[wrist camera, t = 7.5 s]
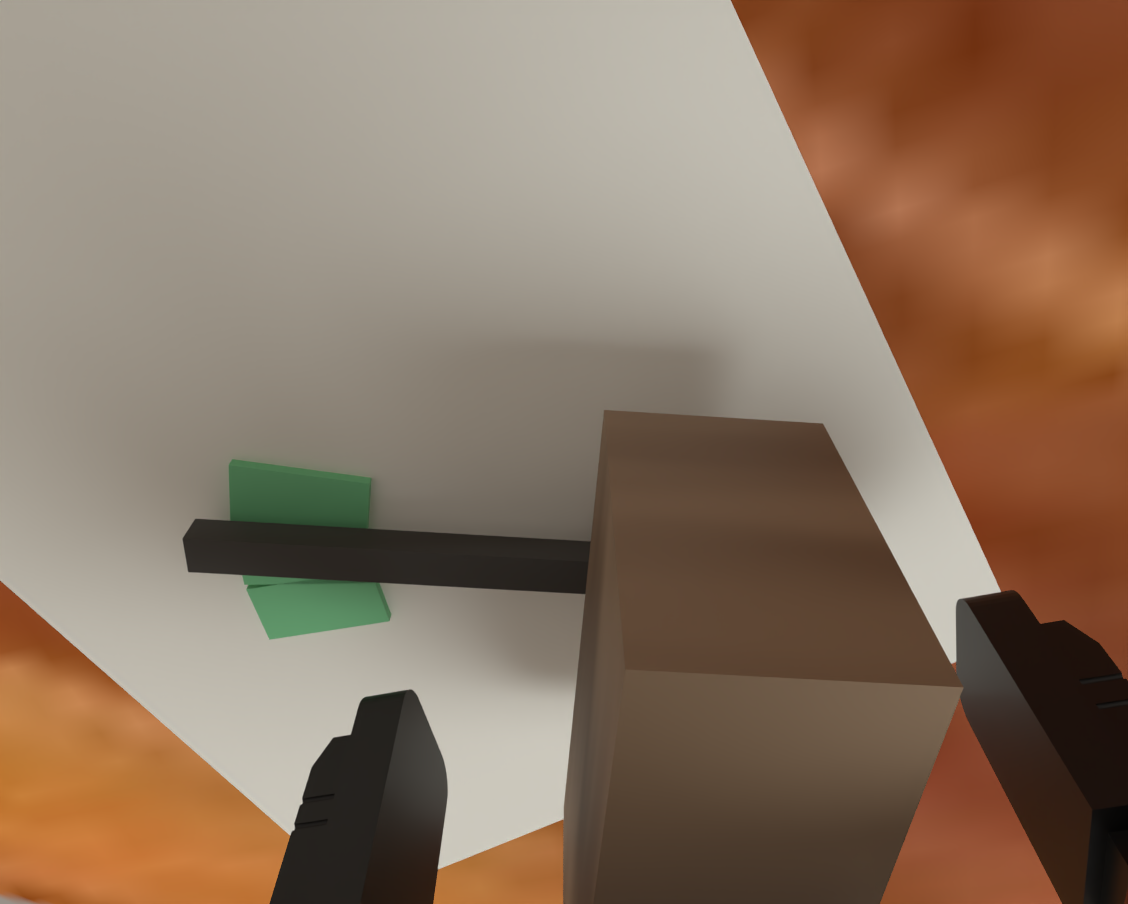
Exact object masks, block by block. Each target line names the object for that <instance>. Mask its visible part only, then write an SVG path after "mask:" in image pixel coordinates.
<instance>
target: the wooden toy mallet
mask: <svg viewBox="0 0 1128 904" xmlns="http://www.w3.org/2000/svg"><path fill="white" fill-rule="evenodd" d="M182 539H183V545H184V551H185V557H186V563H187V569H188V572H194V573H212V574H230V575H248V576H266V577H284V578H302V579H320V580H338V581H356V582H374V583H392V584H410V585H428V586H446V587H464V588H482V589H500V590H518V591H536V592H554V593H572V594H585V602H584V612H583V622H582V632H581V641H580V651H579V661H578V671H577V681H576V691H575V700H574V710H573V720H572V730H571V740H570V750H569V759H568V769H567V779H566V789H565V799H564V850H563V904H880V901H881V899H882V896H883V894H884V891H885V889H886V886H887V883H888V881H889V878H890V876H891V873H892V871H893V868H894V865H895V863H896V860H897V858H898V855H899V853H900V850H901V847H902V845H903V842H904V840H905V837H906V835H907V832H908V829H909V827H910V824H911V822H912V819H913V817H914V814H915V811H916V809H917V806H918V804H919V801H920V798H921V796H922V793H923V791H924V788H925V786H926V783H927V780H928V778H929V775H930V773H931V770H932V768H933V765H934V762H935V760H936V757H937V755H938V752H939V750H940V747H941V744H942V742H943V739H944V737H945V734H946V732H947V729H948V726H949V724H950V721H951V719H952V716H953V714H954V711H955V708H956V706H957V703H958V701H959V698H960V695H961V693H962V690H963V688H964V687H963V685H962V684H961V682H960V680H959V678H958V676H957V674H956V672H955V670H954V669H953V667H952V665H951V663H950V661H949V659H948V657H947V655H946V653H945V652H944V650H943V648H942V646H941V644H940V642H939V640H938V638H937V637H936V635H935V633H934V631H933V629H932V627H931V625H930V623H929V622H928V620H927V618H926V616H925V614H924V612H923V610H922V608H921V607H920V605H919V603H918V601H917V599H916V597H915V595H914V593H913V592H912V590H911V588H910V586H909V584H908V582H907V580H906V578H905V577H904V575H903V573H902V571H901V569H900V567H899V565H898V563H897V562H896V560H895V558H894V556H893V554H892V552H891V550H890V548H889V547H888V545H887V543H886V541H885V539H884V537H883V535H882V533H881V531H880V530H879V528H878V526H877V524H876V522H875V520H874V518H873V516H872V515H871V513H870V511H869V509H868V507H867V505H866V503H865V501H864V500H863V498H862V496H861V494H860V492H859V490H858V488H857V486H856V485H855V483H854V481H853V479H852V477H851V475H850V473H849V471H848V470H847V468H846V466H845V464H844V462H843V460H842V458H841V456H840V455H839V453H838V451H837V449H836V447H835V445H834V443H833V441H832V440H831V438H830V436H829V434H828V432H827V430H826V428H825V426H824V425H823V423H807V422H791V421H775V420H759V419H743V418H727V417H710V416H694V415H678V414H662V413H646V412H630V411H614V410H604V415H603V425H602V435H601V445H600V455H599V464H598V474H597V484H596V494H595V504H594V514H593V523H592V533H591V541H575V540H558V539H540V538H523V537H506V536H488V535H471V534H453V533H436V532H419V531H401V530H384V529H367V528H349V527H332V526H314V525H297V524H280V523H262V522H245V521H228V520H210V519H195V520H194V521H193V523H192V524H191V526H190V528H189V529H188V531H187V532H186V534H185V535H184V537H183V538H182Z"/></svg>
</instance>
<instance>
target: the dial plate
mask: <svg viewBox="0 0 1128 904" xmlns="http://www.w3.org/2000/svg"><path fill="white" fill-rule="evenodd" d="M604 410H614V411H630V412H646V413H662V414H678V415H694V416H710V417H727V418H743V419H759V420H775V421H791V422H807V423H823V425H824V426H825V428H826V430H827V432H828V434H829V436H830V438H831V440H832V441H833V443H834V445H835V447H836V449H837V451H838V453H839V455H840V456H841V458H842V460H843V462H844V464H845V466H846V468H847V470H848V471H849V473H850V475H851V477H852V479H853V481H854V483H855V485H856V486H857V488H858V490H859V492H860V494H861V496H862V498H863V500H864V501H865V503H866V505H867V507H868V509H869V511H870V513H871V515H872V516H873V518H874V520H875V522H876V524H877V526H878V528H879V530H880V531H881V533H882V535H883V537H884V539H885V541H886V543H887V545H888V547H889V548H890V550H891V552H892V554H893V556H894V558H895V560H896V562H897V563H898V565H899V567H900V569H901V571H902V573H903V575H904V577H905V578H906V580H907V582H908V584H909V586H910V588H911V590H912V592H913V593H914V595H915V597H916V599H917V601H918V603H919V605H920V607H921V608H922V610H923V612H924V614H925V616H926V618H927V620H928V622H929V623H930V625H931V627H932V629H933V631H934V633H935V635H936V637H937V638H938V640H939V642H940V644H941V646H942V648H943V650H944V652H945V653H946V655H947V657H948V659H949V661H950V663H954V662H956V603H957V601H958V600H959V599H962V598H968V597H974V596H980V595H986V594H992V593H998V592H1001V591H1000V589H999V586H998V584H997V582H996V580H995V578H994V575H993V573H992V571H991V569H990V567H989V565H988V562H987V560H986V558H985V556H984V554H983V551H982V549H981V547H980V545H979V543H978V540H977V538H976V536H975V534H974V532H973V530H972V527H971V525H970V523H969V521H968V519H967V516H966V514H965V512H964V510H963V508H962V505H961V503H960V501H959V499H958V497H957V495H956V492H955V490H954V488H953V486H952V484H951V481H950V479H949V477H948V475H947V473H946V470H945V468H944V466H943V464H942V462H941V460H940V457H939V455H938V453H937V451H936V449H935V446H934V444H933V442H932V440H931V438H930V435H929V433H928V431H927V429H926V427H925V425H924V422H923V420H922V418H921V416H920V414H919V411H918V409H917V407H916V405H915V403H914V400H913V398H912V396H911V394H910V392H909V389H908V387H907V385H906V383H905V381H904V379H903V376H902V374H901V372H900V370H899V368H898V365H897V363H896V361H895V359H894V357H893V354H892V352H891V350H890V348H889V346H888V344H887V341H886V339H885V337H884V335H883V333H882V330H881V328H880V326H879V324H878V322H877V319H876V317H875V315H874V313H873V311H872V309H871V306H870V304H869V302H868V300H867V298H866V295H865V293H864V291H863V289H862V287H861V284H860V282H859V280H858V278H857V276H856V274H855V271H854V269H853V267H852V265H851V263H850V260H849V258H848V256H847V254H846V252H845V249H844V247H843V245H842V243H841V241H840V239H839V236H838V234H837V232H836V230H835V228H834V225H833V223H832V221H831V219H830V217H829V214H828V212H827V210H826V208H825V206H824V204H823V201H822V199H821V197H820V195H819V193H818V190H817V188H816V186H815V184H814V182H813V179H812V177H811V175H810V173H809V171H808V168H807V166H806V164H805V162H804V160H803V158H802V155H801V153H800V151H799V149H798V147H797V144H796V142H795V140H794V138H793V136H792V133H791V131H790V129H789V127H788V125H787V123H786V120H785V118H784V116H783V114H782V112H781V109H780V107H779V105H778V103H777V101H776V98H775V96H774V94H773V92H772V90H771V88H770V85H769V83H768V81H767V79H766V77H765V74H764V72H763V70H762V68H761V66H760V63H759V61H758V59H757V57H756V55H755V53H754V50H753V48H752V46H751V44H750V42H749V39H748V37H747V35H746V33H745V31H744V28H743V26H742V24H741V22H740V20H739V18H738V15H737V13H736V11H735V9H734V7H733V4H732V2H731V0H0V581H1V582H3V583H4V584H5V585H6V586H7V587H8V588H9V589H11V590H12V591H13V592H14V593H15V594H16V595H17V596H18V597H20V598H21V599H22V600H23V601H24V602H25V603H26V604H28V605H29V606H30V607H31V608H32V609H33V610H34V611H36V612H37V613H38V614H39V615H40V616H41V617H42V618H44V619H45V620H46V621H47V622H48V623H49V624H50V625H51V626H53V627H54V628H55V629H56V630H57V631H58V632H59V633H61V634H62V635H63V636H64V637H65V638H66V639H67V640H69V641H70V642H71V643H72V644H73V645H74V646H75V647H76V648H78V649H79V650H80V651H81V652H82V653H83V654H84V655H86V656H87V657H88V658H89V659H90V660H91V661H92V662H94V663H95V664H96V665H97V666H98V667H99V668H100V669H101V670H103V671H104V672H105V673H106V674H107V675H108V676H109V677H111V678H112V679H113V680H114V681H115V682H116V683H117V684H119V685H120V686H121V687H122V688H123V689H124V690H125V691H127V692H128V693H129V694H130V695H131V696H132V697H133V698H134V699H136V700H137V701H138V702H139V703H140V704H141V705H142V706H144V707H145V708H146V709H147V710H148V711H149V712H150V713H152V714H153V715H154V716H155V717H156V718H157V719H158V720H159V721H161V722H162V723H163V724H164V725H165V726H166V727H167V728H169V729H170V730H171V731H172V732H173V733H174V734H175V735H177V736H178V737H179V738H180V739H181V740H182V741H183V742H185V743H186V744H187V745H188V746H189V747H190V748H191V749H192V750H194V751H195V752H196V753H197V754H198V755H199V756H200V757H202V758H203V759H204V760H205V761H206V762H207V763H208V764H210V765H211V766H212V767H213V768H214V769H215V770H216V771H217V772H219V773H220V774H221V775H222V776H223V777H224V778H225V779H227V780H228V781H229V782H230V783H231V784H232V785H233V786H235V787H236V788H237V789H238V790H239V791H240V792H241V793H243V794H244V795H245V796H246V797H247V798H248V799H249V800H250V801H252V802H253V803H254V804H255V805H256V806H257V807H258V808H260V809H261V810H262V811H263V812H264V813H265V814H266V815H268V816H269V817H270V818H271V819H272V820H273V821H274V822H275V823H277V824H278V825H279V826H280V827H281V828H282V829H283V830H285V831H286V832H287V833H288V834H289V835H290V836H291V832H292V831H293V830H295V825H294V823H295V819H296V816H297V813H298V810H299V806H300V805H301V804H302V803H303V800H302V797H303V793H304V790H305V787H306V784H307V780H308V777H309V774H310V771H311V767H312V766H313V765H314V763H315V762H316V760H317V759H318V758H319V756H320V755H321V753H322V752H323V751H324V749H325V748H326V747H327V745H328V744H329V742H330V741H331V740H332V738H333V737H340V736H346V735H351V732H352V728H353V725H354V721H355V717H356V714H357V710H358V706H359V703H360V701H361V700H362V699H363V698H364V697H367V696H373V695H379V694H385V693H391V692H397V691H403V690H409V689H412V690H413V691H414V692H415V693H416V694H417V696H418V698H419V701H420V703H421V705H422V708H423V710H424V713H425V715H426V717H427V720H428V722H429V725H430V727H431V730H432V732H433V734H434V737H435V739H436V742H437V744H438V747H439V749H440V751H441V754H442V757H443V759H444V763H445V768H446V773H447V783H448V797H447V806H446V813H445V820H444V828H443V835H442V842H441V849H440V857H439V864H438V869H440V868H443V867H445V866H448V865H450V864H453V863H455V862H458V861H460V860H463V859H465V858H468V857H470V856H473V855H475V854H478V853H480V852H483V851H485V850H488V849H490V848H493V847H495V846H498V845H500V844H503V843H505V842H508V841H510V840H513V839H515V838H518V837H520V836H523V835H525V834H527V833H530V832H532V831H535V830H537V829H540V828H542V827H545V826H547V825H550V824H552V823H555V822H557V821H560V820H562V819H564V799H565V789H566V779H567V769H568V759H569V750H570V740H571V730H572V720H573V710H574V700H575V691H576V681H577V671H578V661H579V651H580V641H581V632H582V622H583V612H584V602H585V594H572V593H554V592H536V591H518V590H500V589H482V588H464V587H446V586H428V585H410V584H392V583H374V582H356V581H338V580H320V579H302V578H284V577H266V576H248V575H230V574H212V573H194V572H188V569H187V563H186V557H185V551H184V545H183V539H182V538H183V537H184V535H185V534H186V532H187V531H188V529H189V528H190V526H191V524H192V523H193V521H194V520H195V519H210V520H228V521H245V522H262V523H280V524H297V525H314V526H332V527H349V528H367V529H384V530H401V531H419V532H436V533H453V534H471V535H488V536H506V537H523V538H540V539H558V540H575V541H591V533H592V523H593V514H594V504H595V494H596V484H597V474H598V464H599V455H600V445H601V435H602V425H603V415H604Z"/></svg>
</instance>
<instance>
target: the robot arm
mask: <svg viewBox="0 0 1128 904" xmlns="http://www.w3.org/2000/svg"><path fill="white" fill-rule="evenodd" d="M956 674H957V676H958V678H959V680H960V682H961V684H962V685H963V687H964V688H963V690H962V693H961V695H960V699H961V703H962V706H963V709H964V712H965V714H966V717H967V719H968V721H969V723H970V725H971V727H972V729H973V731H974V733H975V735H976V737H977V739H978V741H979V743H980V745H981V747H982V749H983V751H984V752H985V754H986V756H987V758H988V760H989V762H990V764H991V766H992V768H993V770H994V772H995V774H996V776H997V778H998V780H999V782H1000V783H1001V785H1002V787H1003V789H1004V791H1005V793H1006V795H1007V797H1008V799H1009V801H1010V803H1011V805H1012V807H1013V809H1014V811H1015V813H1016V815H1017V816H1018V818H1019V820H1020V822H1021V824H1022V826H1023V828H1024V830H1025V832H1026V834H1027V836H1028V838H1029V840H1030V842H1031V844H1032V846H1033V847H1034V849H1035V851H1036V853H1037V855H1038V857H1039V859H1040V861H1041V863H1042V865H1043V867H1044V869H1045V871H1046V873H1047V875H1048V877H1049V878H1050V880H1051V882H1052V884H1053V886H1054V888H1055V890H1056V892H1057V894H1058V896H1059V898H1060V900H1061V902H1062V904H1128V681H1127V679H1123V677H1122V673H1121V671H1120V670H1119V669H1118V667H1117V666H1116V665H1115V663H1114V662H1113V661H1112V659H1111V658H1110V657H1109V656H1108V654H1107V653H1106V652H1105V650H1104V649H1103V648H1102V646H1101V645H1100V644H1099V643H1098V642H1096V641H1095V640H1093V639H1092V638H1090V637H1089V636H1087V635H1086V634H1084V633H1083V632H1081V631H1080V630H1078V629H1077V628H1075V627H1074V626H1072V625H1071V624H1069V623H1068V622H1066V621H1065V620H1062V621H1056V622H1050V623H1044V624H1040V623H1039V622H1038V620H1037V619H1036V617H1035V616H1034V614H1033V613H1032V612H1031V610H1030V609H1029V607H1028V606H1027V604H1026V603H1025V601H1024V600H1023V599H1022V597H1021V596H1020V595H1019V594H1018V593H1017V592H1016V591H1014V590H1010V591H1004V592H998V593H992V594H986V595H980V596H974V597H968V598H962V599H959V600H958V601H957V603H956ZM447 797H448V783H447V773H446V768H445V763H444V759H443V757H442V754H441V751H440V749H439V747H438V744H437V742H436V739H435V737H434V734H433V732H432V730H431V727H430V725H429V722H428V720H427V717H426V715H425V713H424V710H423V708H422V705H421V703H420V701H419V698H418V696H417V694H416V693H415V692H414V691H413V690H412V689H409V690H403V691H397V692H391V693H385V694H379V695H373V696H367V697H364V698H363V699H362V700H361V701H360V703H359V706H358V710H357V714H356V717H355V721H354V725H353V728H352V732H351V735H346V736H340V737H333V738H332V740H331V741H330V742H329V744H328V745H327V747H326V748H325V749H324V751H323V752H322V753H321V755H320V756H319V758H318V759H317V760H316V762H315V763H314V765H313V766H312V767H311V771H310V774H309V777H308V780H307V784H306V787H305V790H304V793H303V797H302V800H303V803H302V804H301V805H300V806H299V810H298V813H297V816H296V819H295V823H294V825H295V830H293V831H292V832H291V836H290V839H289V842H288V845H287V849H286V852H285V855H284V858H283V862H282V865H281V868H280V871H279V875H278V878H277V881H276V884H275V888H274V891H273V894H272V897H271V901H270V904H433V900H434V893H435V886H436V878H437V871H438V864H439V857H440V849H441V842H442V835H443V828H444V820H445V813H446V806H447Z"/></svg>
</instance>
